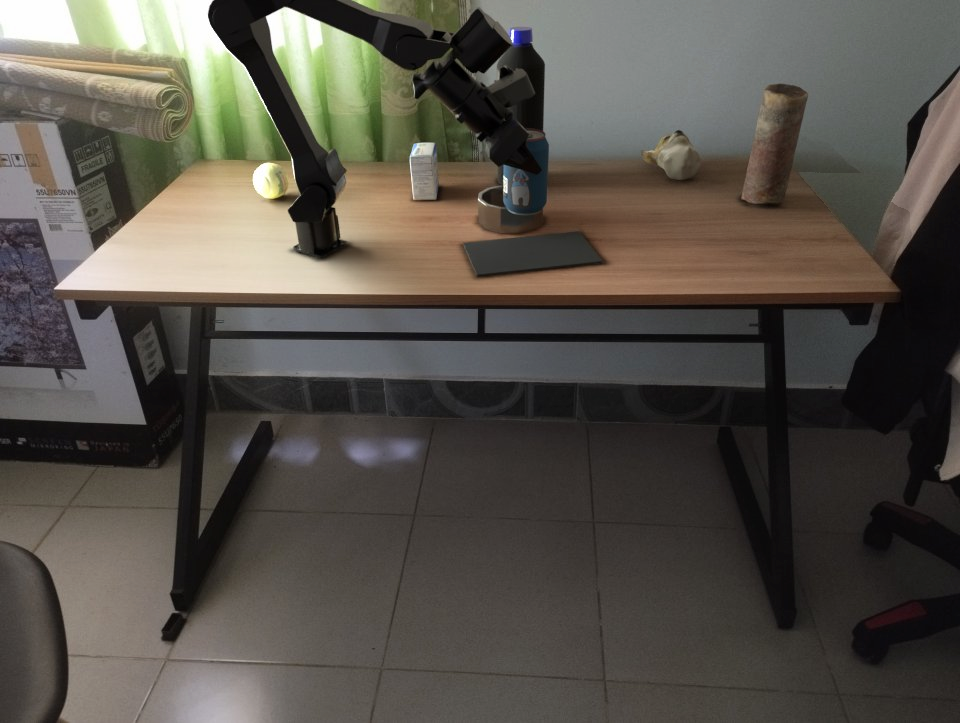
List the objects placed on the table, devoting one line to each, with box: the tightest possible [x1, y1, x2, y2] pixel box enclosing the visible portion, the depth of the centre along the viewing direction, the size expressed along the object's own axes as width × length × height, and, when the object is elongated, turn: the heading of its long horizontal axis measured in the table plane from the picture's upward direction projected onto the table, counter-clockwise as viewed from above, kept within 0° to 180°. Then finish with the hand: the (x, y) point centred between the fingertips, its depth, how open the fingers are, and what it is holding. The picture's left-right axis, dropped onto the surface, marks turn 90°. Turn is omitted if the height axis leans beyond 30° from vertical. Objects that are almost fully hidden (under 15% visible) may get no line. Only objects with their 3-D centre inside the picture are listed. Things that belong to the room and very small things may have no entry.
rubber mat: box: [462, 230, 603, 278], centre depth 119 cm, size 20×12×1 cm, turn 101°
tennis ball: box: [252, 162, 290, 199], centre depth 141 cm, size 6×7×7 cm
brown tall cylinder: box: [740, 83, 809, 206], centre depth 130 cm, size 8×7×20 cm
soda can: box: [503, 128, 550, 215], centre depth 115 cm, size 7×7×12 cm
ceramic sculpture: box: [640, 129, 703, 181], centre depth 148 cm, size 11×9×15 cm
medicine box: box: [409, 142, 440, 201], centre depth 140 cm, size 8×4×9 cm, turn 179°
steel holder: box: [477, 184, 544, 234], centre depth 130 cm, size 11×11×4 cm
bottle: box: [496, 26, 546, 185], centre depth 140 cm, size 9×9×28 cm
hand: (534, 164), depth 115 cm, fingers closed on soda can, 7 cm apart
